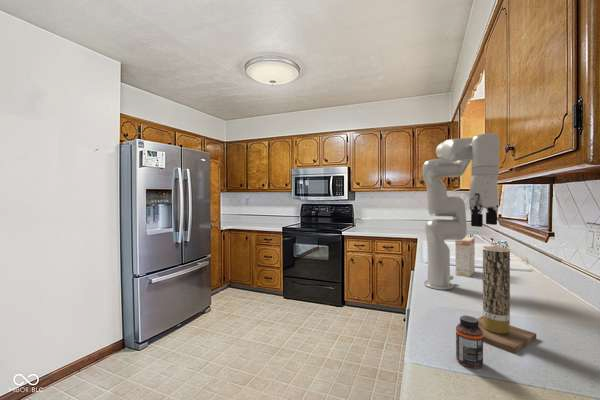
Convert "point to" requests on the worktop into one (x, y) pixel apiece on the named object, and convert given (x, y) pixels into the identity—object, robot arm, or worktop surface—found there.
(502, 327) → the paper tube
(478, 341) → the supplement bottle
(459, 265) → the coffeecake box
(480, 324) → the board
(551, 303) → the worktop surface
